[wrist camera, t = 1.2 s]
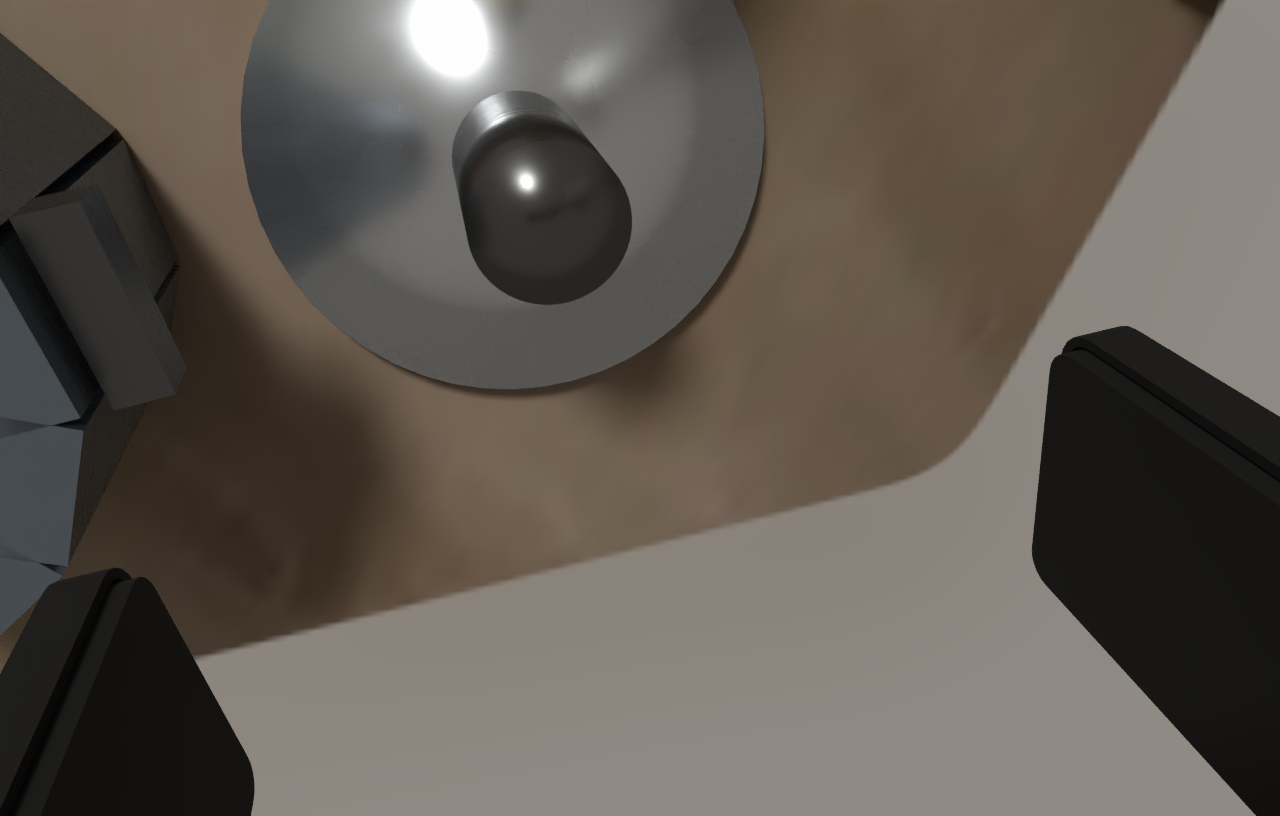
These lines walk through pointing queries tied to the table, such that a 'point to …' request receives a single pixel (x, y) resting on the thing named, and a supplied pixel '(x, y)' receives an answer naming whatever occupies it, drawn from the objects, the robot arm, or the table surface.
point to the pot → (70, 321)
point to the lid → (503, 173)
